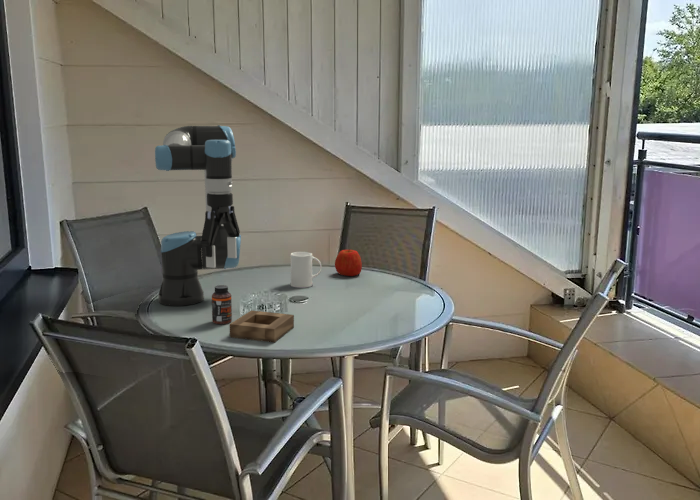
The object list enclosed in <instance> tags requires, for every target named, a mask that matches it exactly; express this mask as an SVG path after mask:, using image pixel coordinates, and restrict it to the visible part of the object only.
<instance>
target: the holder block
mask: <svg viewBox="0 0 700 500" xmlns="http://www.w3.org/2000/svg"><path fill="white" fill-rule="evenodd" d="M294 328H295V315H294V314H289V313H279V312H278V313H277V312H271V311H270V312H269V311H260V310H249V311H248V312H246V313H245V314H244V315H242V316H240V317H238V318H237V319H235V320H234V321H231V322H230V323H229V338H234V339H240V340H250V341H257V342H267V343H273V344H276V343H277V342H278V341H280V340H281V338H283V337H284V336H285V335H286V334H288V333H289V332H290V331H291V330H293V329H294Z"/></svg>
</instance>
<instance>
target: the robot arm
mask: <svg viewBox="0 0 700 500" xmlns="http://www.w3.org/2000/svg"><path fill="white" fill-rule="evenodd" d="M236 155H237V149H236V142H235V136H234V133H233V130H232V128H231V127H230V126H228V125H218V124H217V125H186V126H185V125H183V126H180V127H178V128H175V129H172V130H170V131H169V132H168V133H166V135H165V136H164V138H163V142H162V145H157V146H155V149H154V158H155V159H154V161H155V167H156V169H157V170H159V171H166V172H167V171H168V172H169V171H203V173H204V192H205V193H204V194H205V198H204V199H205V212H204V213H205V215H204V218H205V219H204V225H203V228H202V232H201V233H202V234H201V235H197V233H196V231H194V230H193V231H192V230H190V231H189V230H187V231H179V232H174V233H169V234H167V235H165V236H164V237H162V239H161V240H160V241H161V243H160V253H161V271H162V272H161V273H162V280H161V285H160V288H159V291H158V303H160V304H161V305H164V306H171V307H172V306H174V307H181V306H182V307H183V306H191V305H195V304H198V303H201V302H202V301H204V299H205V294H204V290H203V288H202V285H201V282H200V280H199V275H198V272H199V270H200V271H202V270H227V269H234V268H236V267H238V266H239V262H240V253H241V243H242V235H241V234H240V232H241V230H240V227H239V224H238V220H237V216H236V212H235V206H234V205H233V204H234V199H233V193H232V191H233V184H234V182H233V176H232V174H233V172H232V169H233V168H232V165H233V164H232V162H233V159H234V158H236V157H237V156H236Z"/></svg>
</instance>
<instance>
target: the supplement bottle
mask: <svg viewBox="0 0 700 500" xmlns="http://www.w3.org/2000/svg"><path fill="white" fill-rule="evenodd" d="M232 307H233V306H232V294H231V293H230V291H229V287H228V285H225V284H221V285H219V284H218V285H215V286H214V292H213V293H212V294H211V318H212V320H211V321H212V323H213V324H216V325H226V324H227V325H228V324H230V323H232V322H233V312H232V311H233V308H232Z"/></svg>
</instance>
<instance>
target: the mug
mask: <svg viewBox="0 0 700 500" xmlns="http://www.w3.org/2000/svg"><path fill="white" fill-rule="evenodd" d="M313 261H316V262H318V264H319V266H320V269H319V271H318V272H317V273H316V274H315V273H314V274H313ZM322 269H323V268H322V262H321V261H320V260H319V259H318V258H317V257H315V256H314V255H313V253H312V252H308V251H295V252H291V253H290V284H289V286H291V287H292V288H297V289H299V288H300V289H303V288H305V289H307V288H311V287H312V286H314V283H313V279H314V278H317V277H318V276H319V275H320V274H321V272H322Z"/></svg>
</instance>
